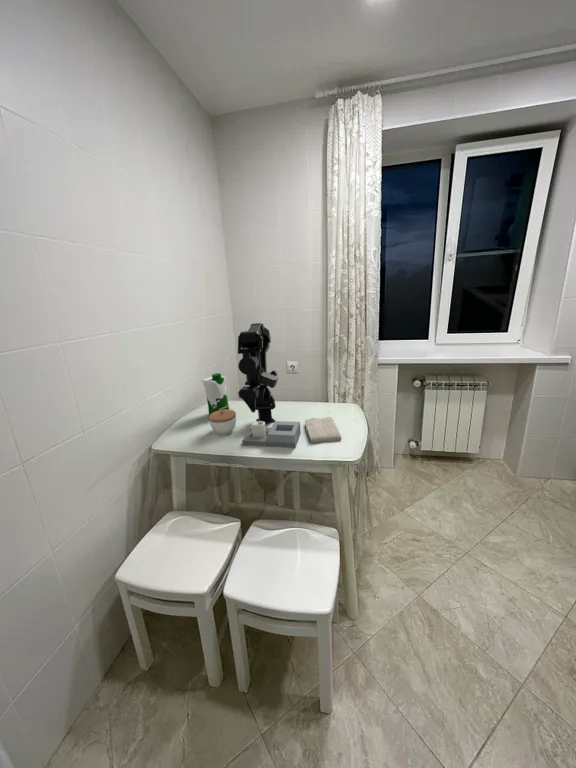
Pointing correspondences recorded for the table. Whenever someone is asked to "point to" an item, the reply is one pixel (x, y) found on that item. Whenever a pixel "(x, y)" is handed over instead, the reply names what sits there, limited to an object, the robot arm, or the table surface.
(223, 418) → the lidded jar
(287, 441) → the socket panel
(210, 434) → the table surface
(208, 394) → the milk carton
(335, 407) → the table surface
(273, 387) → the robot arm
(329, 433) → the washcloth
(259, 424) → the plug
